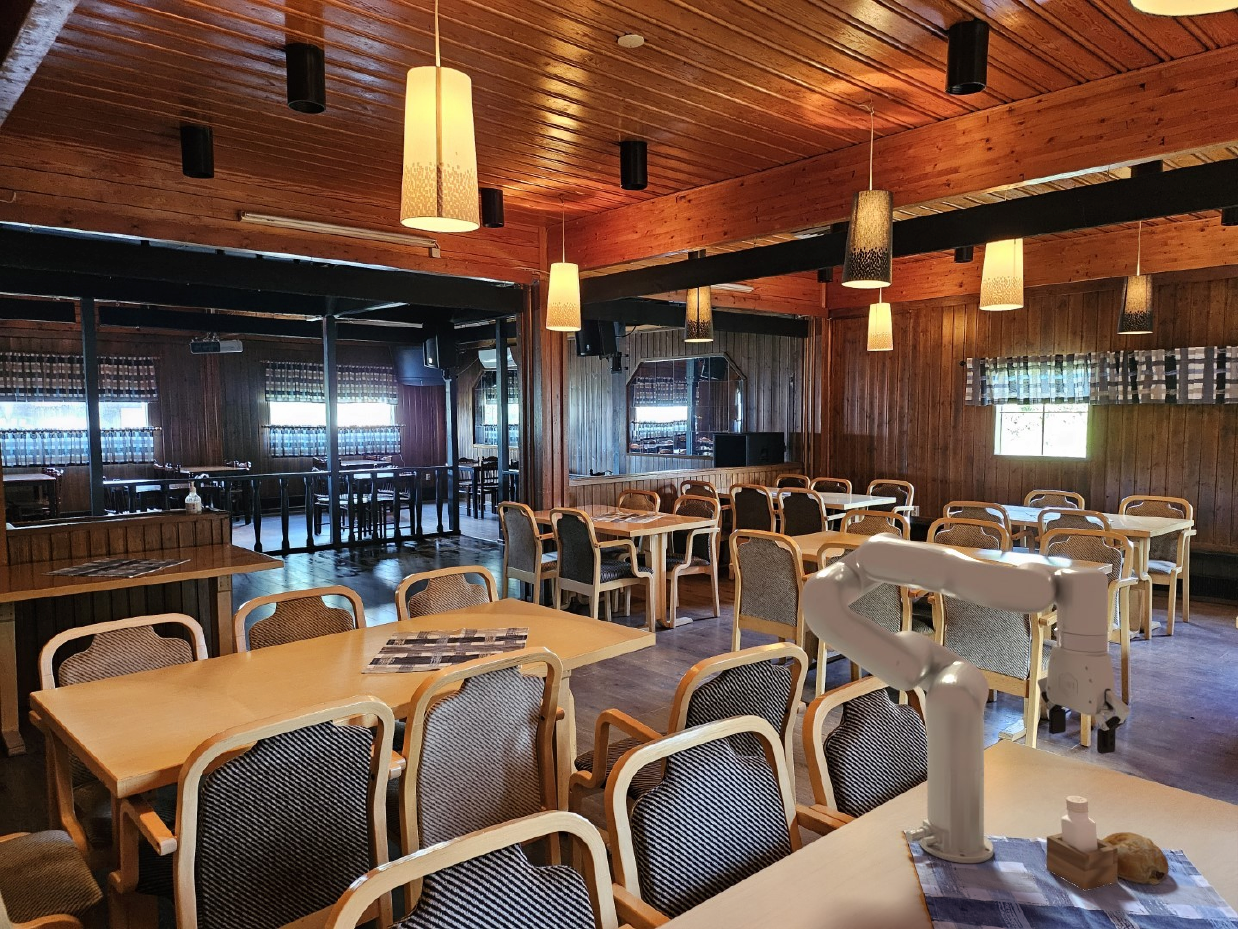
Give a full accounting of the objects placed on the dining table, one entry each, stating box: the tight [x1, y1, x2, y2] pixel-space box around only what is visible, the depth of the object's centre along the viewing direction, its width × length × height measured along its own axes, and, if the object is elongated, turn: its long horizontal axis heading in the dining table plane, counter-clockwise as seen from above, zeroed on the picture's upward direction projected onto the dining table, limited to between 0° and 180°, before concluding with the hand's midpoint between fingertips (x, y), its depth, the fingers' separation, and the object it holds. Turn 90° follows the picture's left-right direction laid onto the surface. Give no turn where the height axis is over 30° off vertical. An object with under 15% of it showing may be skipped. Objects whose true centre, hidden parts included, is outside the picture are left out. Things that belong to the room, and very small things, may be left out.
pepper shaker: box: [1060, 795, 1098, 853], centre depth 141 cm, size 4×4×10 cm
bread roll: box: [1101, 831, 1170, 886], centre depth 142 cm, size 10×10×8 cm
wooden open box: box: [1046, 832, 1118, 891], centre depth 140 cm, size 7×7×6 cm
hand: (1080, 742), depth 141 cm, fingers open, 9 cm apart
